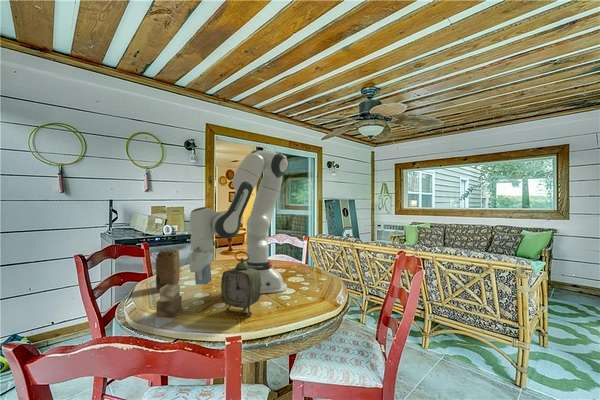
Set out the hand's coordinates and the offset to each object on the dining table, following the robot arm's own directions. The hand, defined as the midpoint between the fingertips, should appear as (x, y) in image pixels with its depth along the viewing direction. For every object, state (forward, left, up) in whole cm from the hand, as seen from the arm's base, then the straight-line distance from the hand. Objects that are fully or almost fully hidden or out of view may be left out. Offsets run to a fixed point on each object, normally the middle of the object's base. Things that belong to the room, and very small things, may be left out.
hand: (203, 277), depth 121 cm
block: (+27, -26, -13) cm, 40 cm away
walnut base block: (+11, +7, -13) cm, 19 cm away
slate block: (0, 0, -2) cm, 2 cm away
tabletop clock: (-18, +5, -13) cm, 22 cm away
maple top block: (+11, +7, -7) cm, 15 cm away
